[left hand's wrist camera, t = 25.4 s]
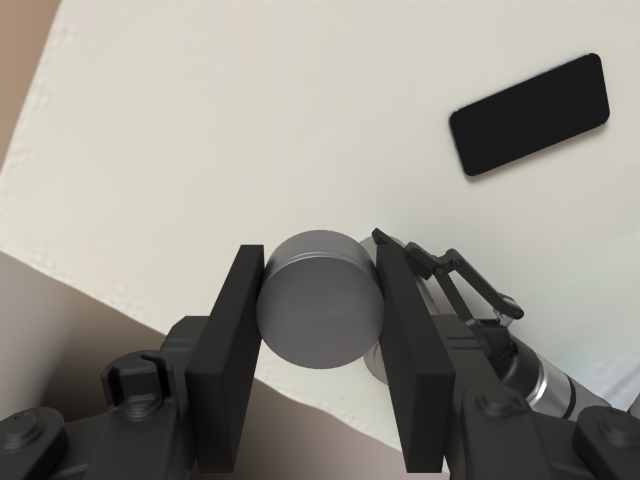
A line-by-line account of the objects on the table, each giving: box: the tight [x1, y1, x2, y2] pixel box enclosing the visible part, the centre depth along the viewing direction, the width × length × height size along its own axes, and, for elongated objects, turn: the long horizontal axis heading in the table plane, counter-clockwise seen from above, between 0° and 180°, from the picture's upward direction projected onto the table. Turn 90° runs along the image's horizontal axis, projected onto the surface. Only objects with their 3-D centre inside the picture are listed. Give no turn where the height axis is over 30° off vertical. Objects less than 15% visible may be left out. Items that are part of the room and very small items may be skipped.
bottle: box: [359, 236, 440, 385], centre depth 40 cm, size 7×7×21 cm
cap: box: [256, 230, 385, 369], centre depth 14 cm, size 4×4×2 cm
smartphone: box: [448, 53, 610, 176], centre depth 43 cm, size 7×1×15 cm
